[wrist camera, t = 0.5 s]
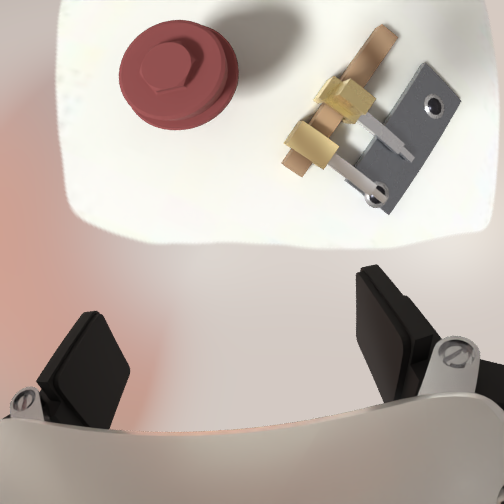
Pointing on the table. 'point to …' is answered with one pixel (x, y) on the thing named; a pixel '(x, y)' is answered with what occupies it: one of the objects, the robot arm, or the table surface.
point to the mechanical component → (178, 75)
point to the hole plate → (408, 136)
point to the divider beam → (338, 120)
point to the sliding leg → (359, 111)
